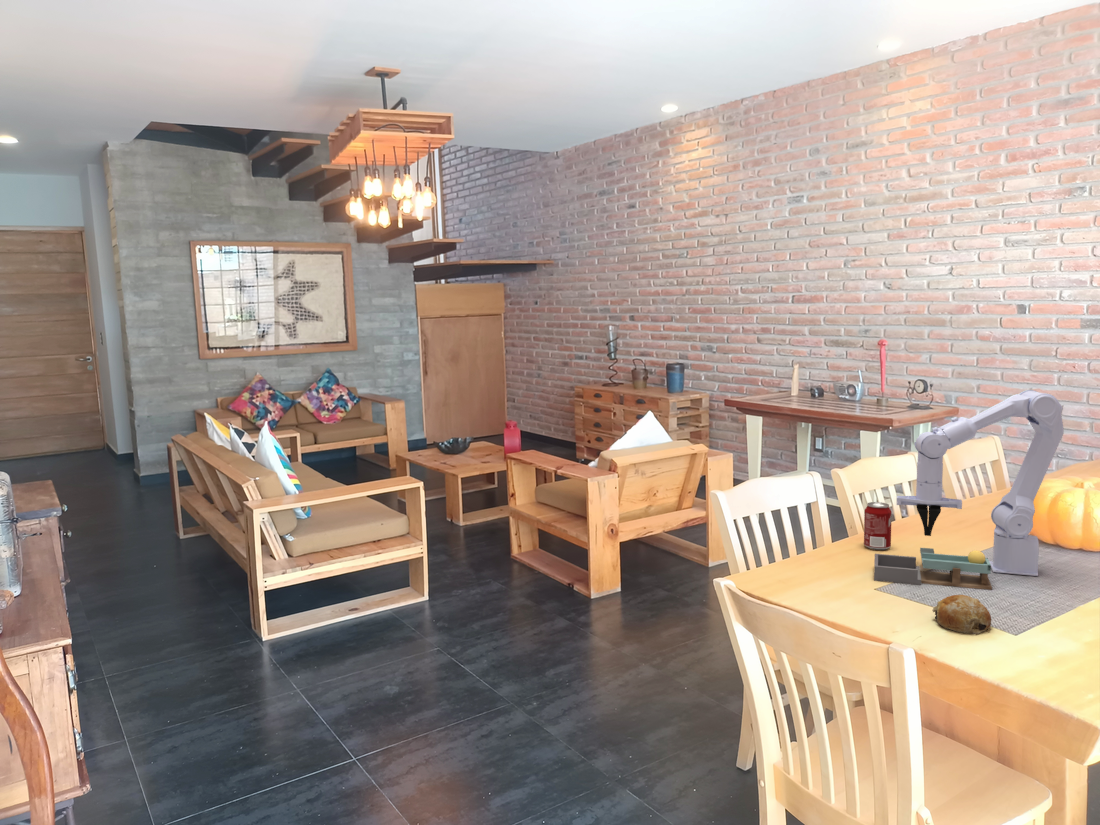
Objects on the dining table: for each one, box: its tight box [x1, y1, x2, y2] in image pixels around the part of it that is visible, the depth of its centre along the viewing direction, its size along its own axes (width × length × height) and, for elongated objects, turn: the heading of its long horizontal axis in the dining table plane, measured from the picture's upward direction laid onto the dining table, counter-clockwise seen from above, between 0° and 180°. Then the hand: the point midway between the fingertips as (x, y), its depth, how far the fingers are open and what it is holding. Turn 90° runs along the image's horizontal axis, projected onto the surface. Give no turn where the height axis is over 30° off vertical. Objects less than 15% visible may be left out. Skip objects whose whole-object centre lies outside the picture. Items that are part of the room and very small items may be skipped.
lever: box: [919, 547, 992, 575], centre depth 189 cm, size 14×14×2 cm
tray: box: [873, 553, 922, 586], centre depth 190 cm, size 10×11×4 cm
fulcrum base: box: [920, 568, 993, 591], centre depth 185 cm, size 15×8×4 cm, turn 67°
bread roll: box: [932, 594, 992, 635], centre depth 160 cm, size 10×10×8 cm
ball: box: [967, 549, 986, 564], centre depth 183 cm, size 4×4×4 cm
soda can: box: [863, 501, 893, 551], centre depth 213 cm, size 7×7×12 cm
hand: (927, 534), depth 195 cm, fingers closed
